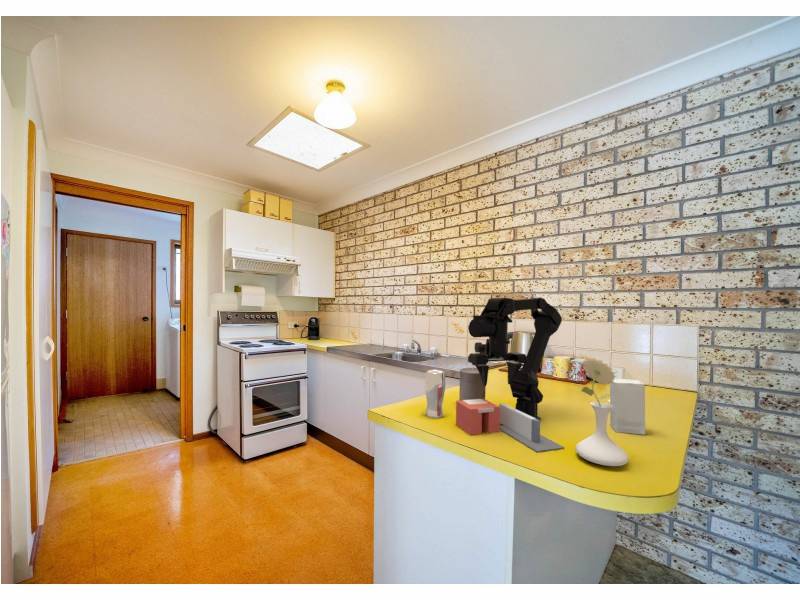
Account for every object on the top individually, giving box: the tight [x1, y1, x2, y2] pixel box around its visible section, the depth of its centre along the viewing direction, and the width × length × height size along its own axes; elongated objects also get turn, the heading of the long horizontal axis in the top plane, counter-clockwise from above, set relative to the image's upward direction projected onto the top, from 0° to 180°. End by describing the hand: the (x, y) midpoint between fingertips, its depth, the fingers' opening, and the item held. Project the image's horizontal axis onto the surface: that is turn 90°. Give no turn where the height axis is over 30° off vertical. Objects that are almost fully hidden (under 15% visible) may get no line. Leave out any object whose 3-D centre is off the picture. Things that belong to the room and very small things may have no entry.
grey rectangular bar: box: [498, 402, 541, 443], centre depth 101 cm, size 2×17×6 cm, turn 18°
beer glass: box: [424, 369, 446, 419], centre depth 116 cm, size 7×7×15 cm
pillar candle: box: [458, 366, 487, 401], centre depth 127 cm, size 10×10×15 cm
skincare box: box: [609, 377, 646, 436], centre depth 105 cm, size 8×7×16 cm
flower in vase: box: [574, 357, 629, 467], centre depth 85 cm, size 13×11×25 cm
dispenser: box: [455, 398, 501, 436], centre depth 104 cm, size 10×9×8 cm
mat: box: [500, 425, 566, 453], centre depth 97 cm, size 9×18×1 cm, turn 18°
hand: (497, 385), depth 108 cm, fingers open, 9 cm apart
